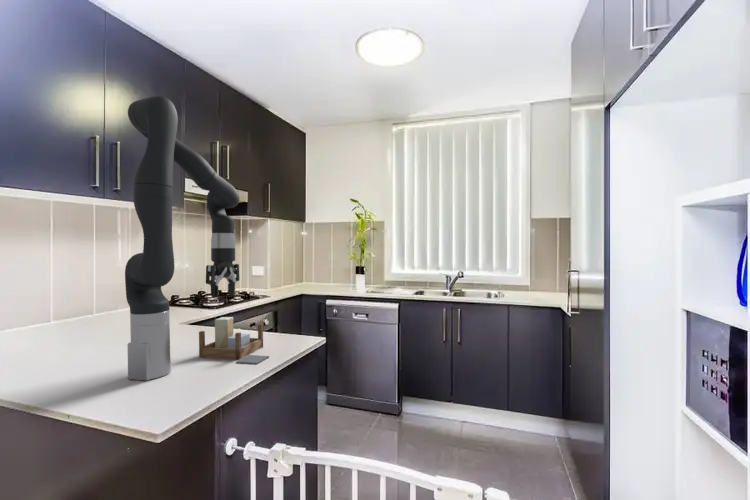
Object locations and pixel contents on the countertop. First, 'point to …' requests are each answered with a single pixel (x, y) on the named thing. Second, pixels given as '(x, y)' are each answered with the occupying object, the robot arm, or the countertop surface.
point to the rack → (227, 353)
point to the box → (223, 331)
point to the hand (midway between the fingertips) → (223, 295)
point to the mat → (252, 359)
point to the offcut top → (244, 340)
